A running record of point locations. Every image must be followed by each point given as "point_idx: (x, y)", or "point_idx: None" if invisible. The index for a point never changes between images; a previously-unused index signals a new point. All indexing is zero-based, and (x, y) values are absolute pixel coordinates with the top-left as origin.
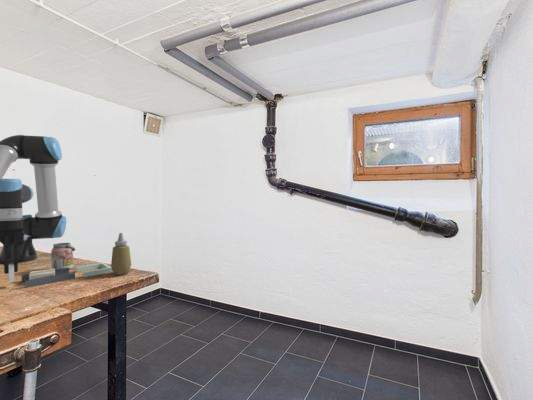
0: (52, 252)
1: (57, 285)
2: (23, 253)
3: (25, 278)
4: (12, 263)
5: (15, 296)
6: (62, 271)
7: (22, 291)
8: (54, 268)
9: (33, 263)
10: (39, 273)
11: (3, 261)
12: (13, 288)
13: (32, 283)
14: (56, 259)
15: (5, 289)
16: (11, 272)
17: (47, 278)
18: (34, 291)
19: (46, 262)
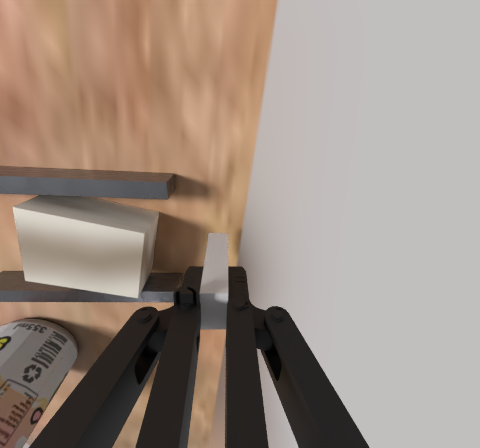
0: (4, 439)
1: (27, 85)
2: (107, 370)
3: (166, 281)
4: (203, 328)
5: (226, 35)
6: (17, 282)
7: (190, 115)
8: (59, 342)
9: None
10: (94, 235)
11: (257, 327)
12: (216, 203)
13: (141, 176)
14: (14, 381)
15: (241, 212)
16: (216, 260)
17: (65, 175)
18: (139, 57)
19: None
